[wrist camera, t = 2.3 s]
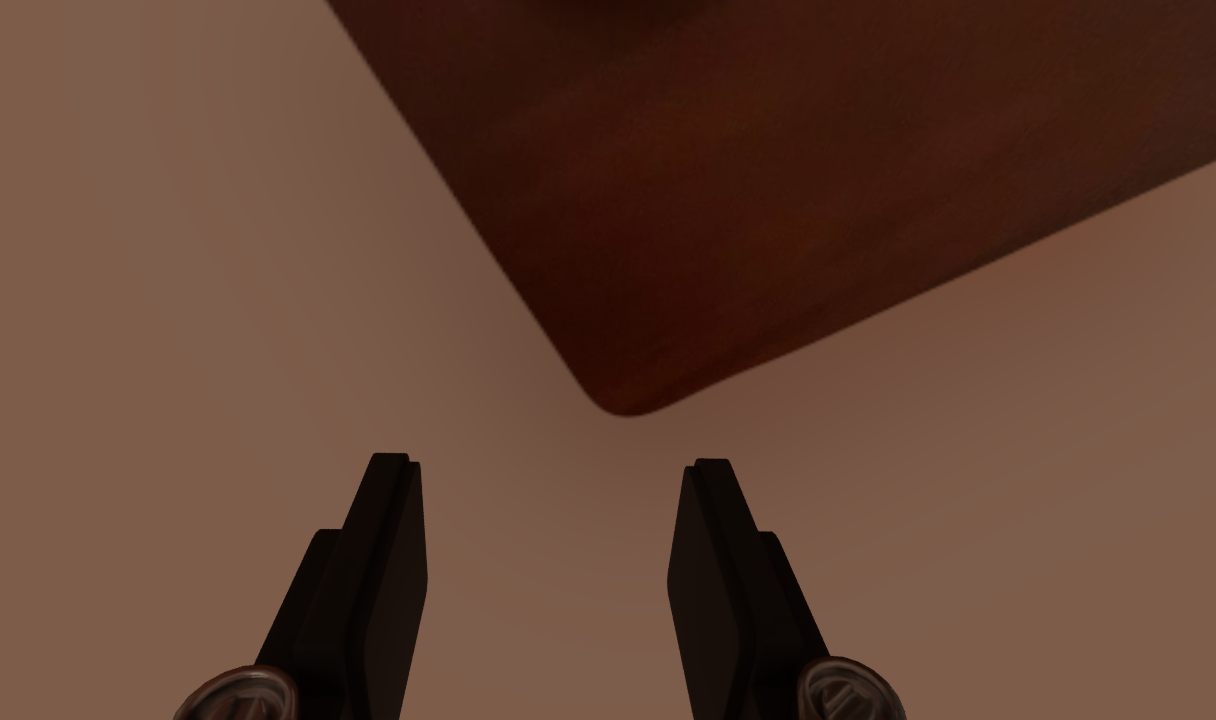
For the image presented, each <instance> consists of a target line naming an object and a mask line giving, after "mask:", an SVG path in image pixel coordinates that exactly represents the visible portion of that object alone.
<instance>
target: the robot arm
mask: <svg viewBox="0 0 1216 720" xmlns="http://www.w3.org/2000/svg"><path fill="white" fill-rule="evenodd" d="M423 513H424V512H423V497H422V483H421V468H420V463H419V462H410V461H409V456H408V454H407V453H375V454H373V456H372V457H371V460H370V462H369V464H368V467H367V469H366V472H365V474H364V477H363V479H362V481H361V484H360V486H359V489H358V491H357V494H356V496H355V498H354V501H353V503H352V506H351V508H350V510H349V513H348V515H347V518H346V520H345V523H344V525H343V527H342V529H320V530H318V531H317V532H316V533H315V535H314V537H313V538H312V540H311V543H310V545H309V547H308V549H307V551H306V554H305V555H304V558H303V560H302V562H301V564H300V566H299V568H298V571H297V573H296V576H295V577H294V579H293V581H292V584H291V586H290V588H289V590H288V592H287V594H286V596H285V599H284V601H283V603H282V605H281V607H280V609H279V611H278V614H277V616H276V618H275V620H274V622H273V625H272V627H271V629H270V631H269V633H268V635H267V638H266V640H265V642H264V644H263V646H262V648H261V650H260V653H259V655H258V657H257V659H256V661H255V663H254V665H249V666H242V667H239V668H236V669H233V670H229V671H226V672H224V673H222V674H220V675H218V676H216V677H215V678H213V679H211V680H209V681H207V682H205V683H204V684H203V685H202V686H201V687H200V688H198V689H197V690H196V691H195V692H193V693H192V694H191V695H190V696H189V697H188V698H187V699H186V700H185V702H184V703H183V704H182V705H181V707H180V708H179V709H178V711H177V712H176V713H175V716H174V718H173V720H399V717H400V712H401V708H402V703H403V698H404V694H405V689H406V685H407V680H408V676H409V671H410V666H411V662H412V657H413V653H414V648H415V644H416V639H417V634H418V630H419V625H420V620H421V616H422V611H423V607H424V602H425V598H426V592H427V580H428V577H427V576H428V574H427V559H426V543H425V528H424V514H423ZM667 589H668V597H669V601H670V606H671V611H672V615H673V621H674V625H675V631H676V635H677V640H678V645H679V650H680V654H681V660H682V665H683V669H684V674H685V679H686V684H687V689H688V694H689V699H690V703H691V708H692V713H693V718H694V720H907V719H906V715H905V711H904V709H903V706H902V704H901V702H900V699H899V697H898V695H897V694H896V693H895V691H894V690H893V689H892V687H891V686H890V685H889V683H888V682H887V681H886V680H884V679H883V678H882V677H881V676H880V675H879V674H877V673H876V672H875V671H874V670H872V669H871V668H869V667H867V666H865V665H863V664H862V663H859V662H857V661H854V660H851V659H848V658H845V657H837V656H830V654H829V652H828V650H827V647H826V645H825V643H824V641H823V638H822V636H821V634H820V631H819V629H818V627H817V625H816V623H815V620H814V618H813V616H812V613H811V611H810V609H809V607H808V605H807V602H806V600H805V598H804V595H803V593H802V591H801V589H800V586H799V584H798V582H797V579H796V577H795V575H794V573H793V571H792V568H791V566H790V564H789V561H788V559H787V557H786V555H785V552H784V550H783V548H782V546H781V543H780V541H779V539H778V538H777V536H776V535H775V534H774V533H773V532H766V531H764V532H763V531H761V532H760V531H758V530H757V527H756V525H755V522H754V520H753V518H752V515H751V513H750V510H749V508H748V505H747V503H746V500H745V498H744V496H743V493H742V491H741V488H740V486H739V483H738V481H737V478H736V476H735V474H734V471H733V468H732V466H731V464H730V462H729V460H728V459H704V458H698V459H696V461H695V464H694V466H686V467H685V469H684V474H683V480H682V487H681V494H680V499H679V506H678V513H677V518H676V525H675V531H674V537H673V543H672V550H671V556H670V562H669V569H668V577H667Z"/></svg>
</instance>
